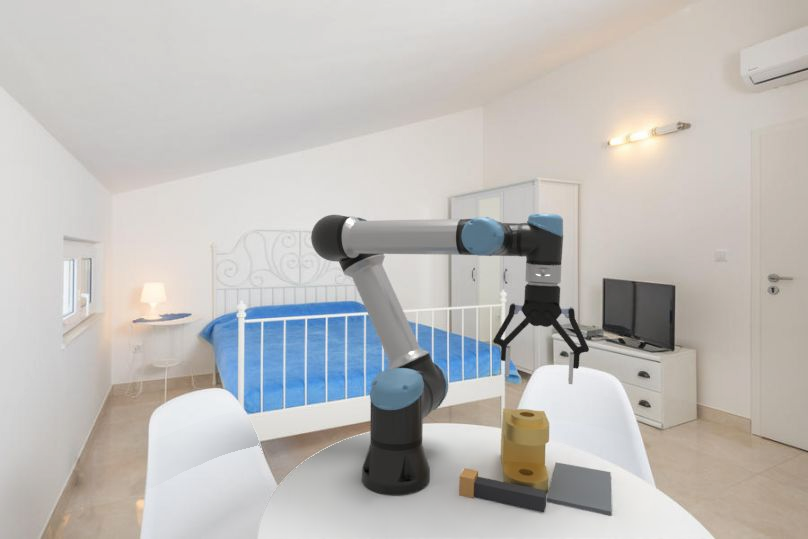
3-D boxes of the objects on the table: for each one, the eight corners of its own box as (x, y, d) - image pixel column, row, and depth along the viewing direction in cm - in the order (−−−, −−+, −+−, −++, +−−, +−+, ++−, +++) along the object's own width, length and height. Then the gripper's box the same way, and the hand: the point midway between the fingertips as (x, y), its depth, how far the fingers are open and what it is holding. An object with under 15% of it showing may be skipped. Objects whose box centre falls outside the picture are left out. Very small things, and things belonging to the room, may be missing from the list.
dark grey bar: (459, 495, 96) (459, 476, 96) (464, 486, 99) (464, 468, 99) (543, 514, 89) (544, 493, 89) (546, 504, 92) (546, 484, 92)
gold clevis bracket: (551, 500, 94) (552, 423, 94) (505, 496, 96) (506, 420, 95) (538, 458, 114) (539, 394, 113) (500, 455, 115) (501, 392, 115)
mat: (546, 501, 93) (546, 497, 93) (555, 465, 110) (555, 462, 110) (611, 515, 89) (611, 511, 89) (610, 475, 105) (610, 472, 105)
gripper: (483, 281, 102) (479, 376, 103) (605, 288, 94) (600, 390, 95) (488, 280, 109) (484, 368, 110) (601, 286, 101) (596, 381, 102)
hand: (538, 379), depth 102 cm, fingers open, 13 cm apart
